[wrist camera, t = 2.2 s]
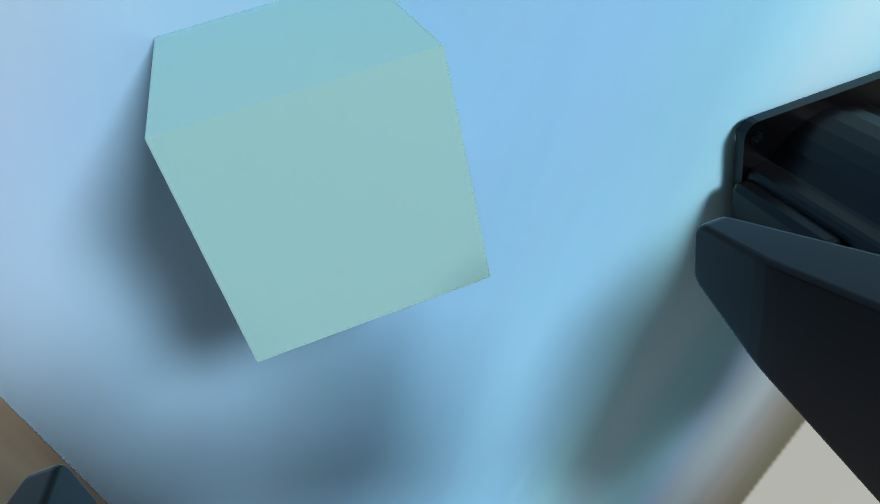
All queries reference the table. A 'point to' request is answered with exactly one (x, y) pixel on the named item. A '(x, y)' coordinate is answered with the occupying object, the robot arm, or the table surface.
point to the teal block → (316, 164)
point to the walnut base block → (25, 454)
